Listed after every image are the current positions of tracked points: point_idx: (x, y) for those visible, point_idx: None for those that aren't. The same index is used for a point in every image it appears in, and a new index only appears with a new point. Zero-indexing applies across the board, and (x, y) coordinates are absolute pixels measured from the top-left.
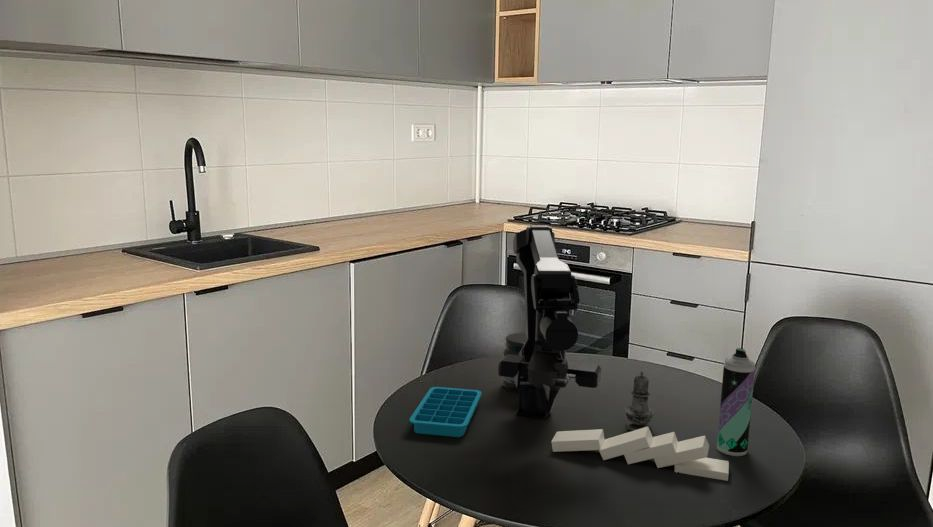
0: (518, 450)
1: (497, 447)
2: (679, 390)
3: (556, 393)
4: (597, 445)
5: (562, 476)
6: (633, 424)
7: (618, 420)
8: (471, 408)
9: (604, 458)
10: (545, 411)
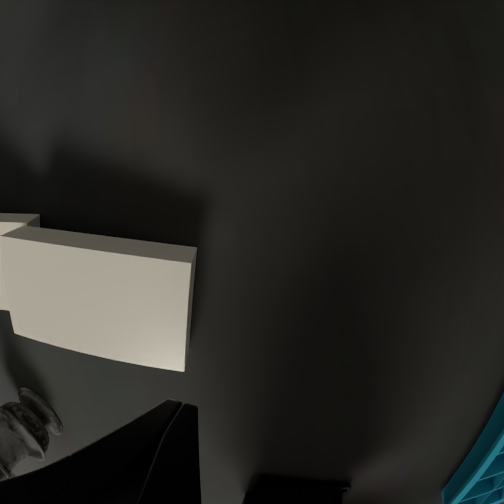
0: (355, 232)
1: (443, 246)
2: None
3: (11, 482)
4: (19, 230)
5: (148, 40)
6: (41, 416)
7: (83, 447)
8: (499, 448)
9: (32, 215)
10: (190, 412)
